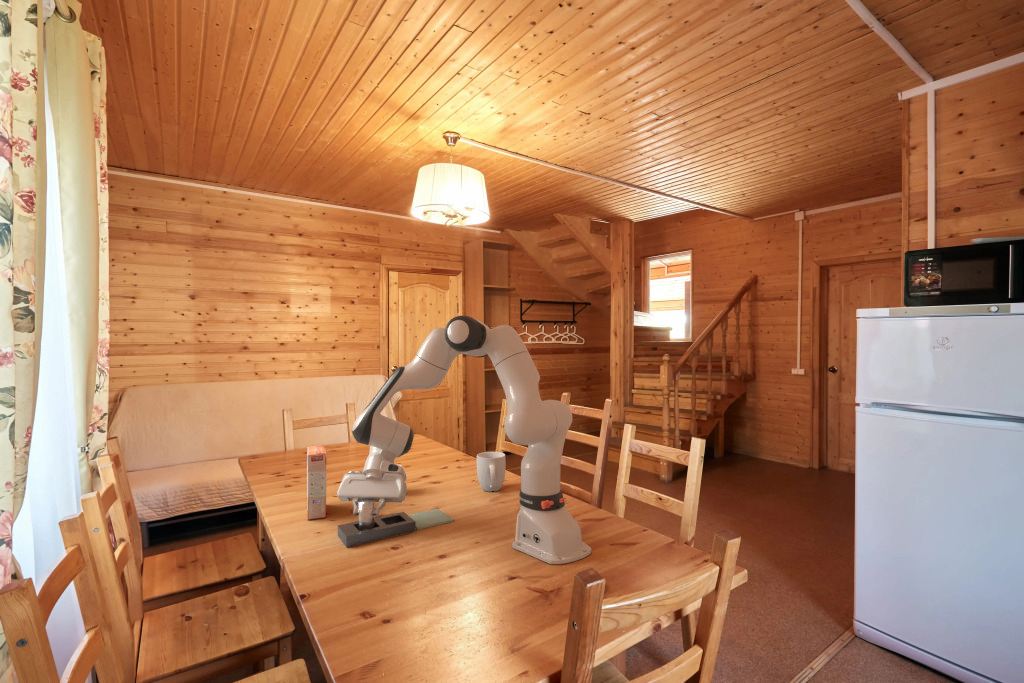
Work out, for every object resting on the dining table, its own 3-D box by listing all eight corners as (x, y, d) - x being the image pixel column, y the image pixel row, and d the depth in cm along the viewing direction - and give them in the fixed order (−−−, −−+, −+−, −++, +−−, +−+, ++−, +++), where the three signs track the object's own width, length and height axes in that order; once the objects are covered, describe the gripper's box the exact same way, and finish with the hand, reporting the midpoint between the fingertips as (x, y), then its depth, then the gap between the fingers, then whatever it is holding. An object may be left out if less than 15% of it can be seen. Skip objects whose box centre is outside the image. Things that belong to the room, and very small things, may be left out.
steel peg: (376, 536, 141) (376, 502, 141) (361, 540, 139) (360, 505, 139) (371, 531, 145) (371, 498, 145) (356, 535, 143) (356, 500, 143)
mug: (508, 496, 177) (508, 460, 177) (478, 497, 175) (478, 461, 175) (503, 484, 192) (503, 451, 192) (475, 485, 190) (475, 452, 190)
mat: (453, 521, 153) (453, 519, 153) (417, 529, 146) (417, 527, 146) (437, 510, 163) (437, 508, 163) (403, 517, 156) (403, 515, 156)
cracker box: (327, 518, 157) (326, 452, 157) (307, 520, 154) (306, 454, 154) (326, 504, 170) (325, 444, 170) (307, 507, 167) (306, 446, 167)
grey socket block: (415, 531, 145) (415, 521, 145) (346, 547, 134) (346, 536, 134) (403, 521, 153) (403, 511, 153) (337, 535, 142) (337, 525, 142)
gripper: (342, 465, 150) (327, 508, 140) (407, 466, 148) (396, 510, 138) (348, 476, 154) (334, 518, 144) (411, 477, 152) (402, 520, 143)
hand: (365, 514), depth 141 cm, fingers closed on steel peg, 4 cm apart
